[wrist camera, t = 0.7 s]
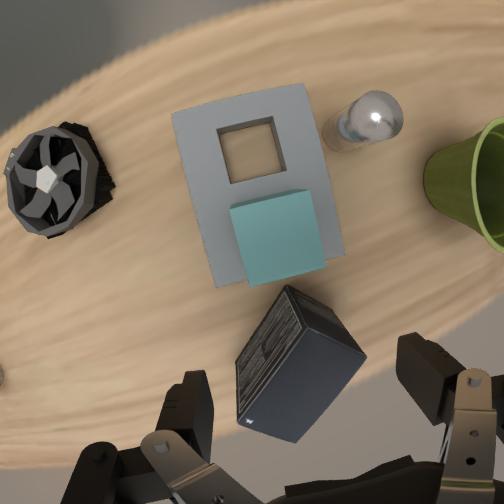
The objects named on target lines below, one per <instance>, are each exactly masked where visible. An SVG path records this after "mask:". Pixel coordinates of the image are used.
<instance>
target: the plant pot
mask: <svg viewBox="0 0 504 504" xmlns="http://www.w3.org/2000/svg"><path fill="white" fill-rule="evenodd" d="M424 188H425V192H426V195H427V197H428V199H429V200H430V202H431V203H432V205H433V206H434V208H435V209H437V210H438V211H440V212H442V213H443V214H446V215H448V216H450V217H452V218H454V219H456V220H458V221H460V222H462V223H463V224H465V225H467V226H469V227H471V228H473V229H475V230H476V231H477V232H478V233H479V234H480V235H482V236H483V237H485V239H486V240H487V242H488V243H489V244H490V245H491V246H492V247H493V248H494V249H495V250H497V251H498V252H500V253H503V254H504V117H500V118H497V119H495V120H493V121H491V122H490V123H489V124H488V125H487V126H486V127H485V128H484V129H483V131H481V132H479V133H478V134H476V135H475V136H474V137H472V138H469V139H467V140H465V141H462V142H460V143H457V144H455V145H452V146H450V147H447V148H445V149H443V150H440V151H438V152H436V153H435V154H434V155H433V156H432V157H431V158H430V159H429V161H428V162H427V165H426V168H425V172H424Z"/></svg>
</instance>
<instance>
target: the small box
mask: <svg viewBox="0 0 504 504" xmlns="http://www.w3.org/2000/svg"><path fill="white" fill-rule="evenodd" d="M366 359H367V356H366V355H365V353H364V352H363V351H362V350H361V348H360V347H359V345H358V344H357V343H356V342H355V340H354V339H353V337H352V336H351V335H350V334H349V332H348V331H347V329H346V328H345V327H344V325H343V324H342V323H341V321H340V320H339V319H338V317H337V316H336V315H335V313H334V312H333V310H331V309H330V308H328V307H326V306H324V305H323V304H321V303H319V302H317V301H316V300H314V299H312V298H310V297H309V296H307V295H305V294H303V293H301V292H300V291H298V290H296V289H294V288H292V287H291V286H289V285H285V287H284V288H283V290H282V291H281V293H280V294H279V296H278V297H277V299H276V301H275V302H274V304H273V305H272V307H271V308H270V310H269V311H268V312H267V314H266V316H265V317H264V319H263V320H262V322H261V324H260V325H259V327H258V328H257V330H256V331H255V333H254V334H253V336H252V337H251V339H250V340H249V342H248V343H247V345H246V346H245V348H244V349H243V351H242V352H241V354H240V355H239V357H238V358H237V360H236V361H235V365H236V388H237V390H236V398H237V399H236V401H237V402H236V403H237V424H238V425H240V426H243V427H246V428H249V429H252V430H255V431H257V432H260V433H263V434H266V435H269V436H272V437H275V438H278V439H281V440H284V441H288V442H291V443H297V442H298V440H299V439H300V438H301V437H302V436H303V435H304V434H305V433H306V432H307V430H309V429H310V427H311V426H312V425H313V424H314V423H315V422H316V421H317V419H318V418H319V417H320V416H321V415H322V414H323V412H324V411H325V410H326V409H327V408H328V407H329V405H330V404H331V403H332V402H333V401H334V399H335V398H336V397H337V396H338V395H339V393H340V392H341V391H342V390H343V388H344V387H345V386H346V385H347V383H348V382H349V381H350V380H351V378H352V377H353V376H354V375H355V373H356V372H357V371H358V369H359V368H360V367H361V366H362V364H363V363H364V362H365V360H366Z"/></svg>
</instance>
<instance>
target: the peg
mask: <svg viewBox="0 0 504 504" xmlns="http://www.w3.org/2000/svg"><path fill="white" fill-rule="evenodd" d="M402 125H403V113H402V110H401V107H400V105H399V104H398V102H397V101H396V100H395V99H394V98H393V97H392V96H391V95H389V94H388V93H385V92H383V91H370V92H368V93H366V94H365V95H363V96H362V97H360V98H359V99H357V100H356V101H355V102H353V103H352V104H350V105H349V106H347V107H346V108H345V109H343V110H342V111H340V112H339V113H338V114H336V115H335V116H334V117H332V118H331V119H329V120H328V121H327V122H326V123H325V125H324V127H323V130H322V135H323V139H324V142H325V143H326V145H327V146H328V147H329V148H330V149H332V150H334V151H336V152H346V151H349V150H353V149H356V148H359V147H363V146H366V145H369V144H373V143H376V142H380V141H383V140H387V139H390V138H393V137H395V136H396V135H397V134H398V133H399V132H400V130H401V128H402Z"/></svg>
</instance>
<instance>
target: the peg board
mask: <svg viewBox="0 0 504 504" xmlns="http://www.w3.org/2000/svg"><path fill="white" fill-rule="evenodd" d="M171 117H172V122H173V126H174V130H175V134H176V138H177V143H178V147H179V151H180V155H181V159H182V163H183V167H184V171H185V175H186V179H187V183H188V187H189V191H190V195H191V198H192V202H193V206H194V210H195V214H196V217H197V221H198V225H199V228H200V232H201V236H202V239H203V243H204V247H205V250H206V254H207V257H208V261H209V264H210V268H211V271H212V275H213V278H214V282H215V285H216V288H217V287H222V286H226V285H230V284H234V283H238V282H242V281H246V280H247V276H246V272H245V268H244V265H243V261H242V257H241V253H240V249H239V246H238V242H237V238H236V234H235V230H234V226H233V222H232V219H231V215H230V211H229V209H230V207H231V205H232V204H236V203H240V202H244V201H248V200H252V199H256V198H260V197H264V196H268V195H272V194H276V193H280V192H285V191H289V190H293V189H303V190H310V193H311V198H312V202H313V207H314V211H315V216H316V220H317V225H318V230H319V234H320V239H321V244H322V249H323V254H324V259H325V260H328V259H332V258H336V257H340V256H343V255H345V253H344V247H343V242H342V236H341V231H340V226H339V221H338V216H337V211H336V207H335V202H334V197H333V193H332V188H331V184H330V179H329V175H328V171H327V167H326V162H325V158H324V154H323V150H322V146H321V142H320V139H319V135H318V131H317V127H316V123H315V120H314V116H313V113H312V109H311V105H310V102H309V98H308V95H307V92H306V88H305V85H304V83H301V84H295V85H289V86H283V87H278V88H272V89H267V90H262V91H257V92H253V93H248V94H243V95H239V96H235V97H231V98H226V99H222V100H218V101H214V102H211V103H207V104H203V105H199V106H196V107H192V108H189V109H185V110H182V111H179V112H175V113H172V114H171ZM269 122H270V125H271V129H272V132H273V136H274V140H275V144H276V148H277V152H278V156H279V160H280V164H281V168H282V172H279V173H275V174H271V175H266V176H262V177H258V178H254V179H250V180H246V181H242V182H238V183H234V184H231V182H230V178H229V174H228V170H227V166H226V162H225V158H224V155H223V151H222V147H221V143H220V139H219V135H218V134H222V133H226V132H230V131H234V130H238V129H243V128H247V127H251V126H256V125H260V124H265V123H269Z"/></svg>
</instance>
